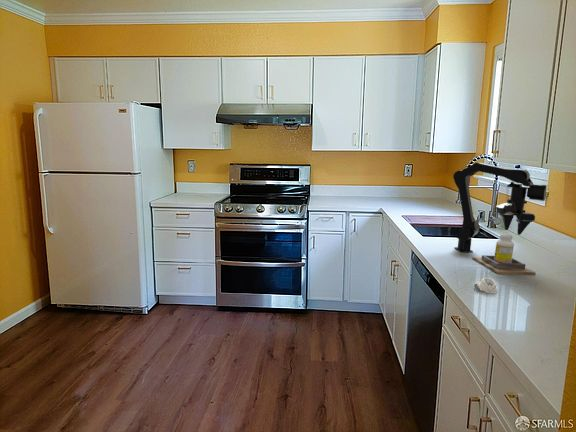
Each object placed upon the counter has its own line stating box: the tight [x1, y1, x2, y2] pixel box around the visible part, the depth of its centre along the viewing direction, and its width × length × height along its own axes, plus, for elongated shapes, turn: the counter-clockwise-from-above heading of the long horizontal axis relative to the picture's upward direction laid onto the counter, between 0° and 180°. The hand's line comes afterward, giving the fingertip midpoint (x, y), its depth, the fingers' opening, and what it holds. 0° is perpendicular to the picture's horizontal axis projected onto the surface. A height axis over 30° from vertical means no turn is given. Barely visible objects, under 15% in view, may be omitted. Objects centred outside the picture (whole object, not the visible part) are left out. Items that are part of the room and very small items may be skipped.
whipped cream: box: [473, 277, 499, 294], centre depth 143 cm, size 8×7×5 cm
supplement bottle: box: [494, 233, 515, 264], centre depth 170 cm, size 7×7×13 cm
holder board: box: [472, 254, 537, 276], centre depth 171 cm, size 20×16×3 cm
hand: (512, 232), depth 179 cm, fingers open, 9 cm apart
